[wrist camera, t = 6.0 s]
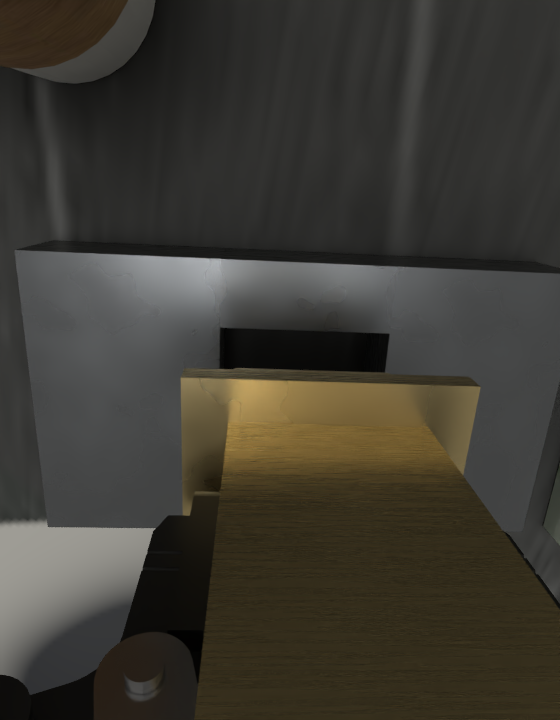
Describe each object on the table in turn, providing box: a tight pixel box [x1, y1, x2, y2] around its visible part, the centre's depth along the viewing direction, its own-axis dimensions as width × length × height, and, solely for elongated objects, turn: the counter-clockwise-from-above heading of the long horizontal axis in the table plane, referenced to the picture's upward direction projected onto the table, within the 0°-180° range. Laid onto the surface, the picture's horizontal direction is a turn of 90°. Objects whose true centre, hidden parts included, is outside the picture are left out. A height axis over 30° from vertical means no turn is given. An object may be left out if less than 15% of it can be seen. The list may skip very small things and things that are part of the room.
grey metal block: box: [14, 241, 560, 532], centre depth 19 cm, size 10×18×3 cm, turn 87°
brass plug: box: [181, 368, 560, 720], centre depth 10 cm, size 6×6×10 cm
